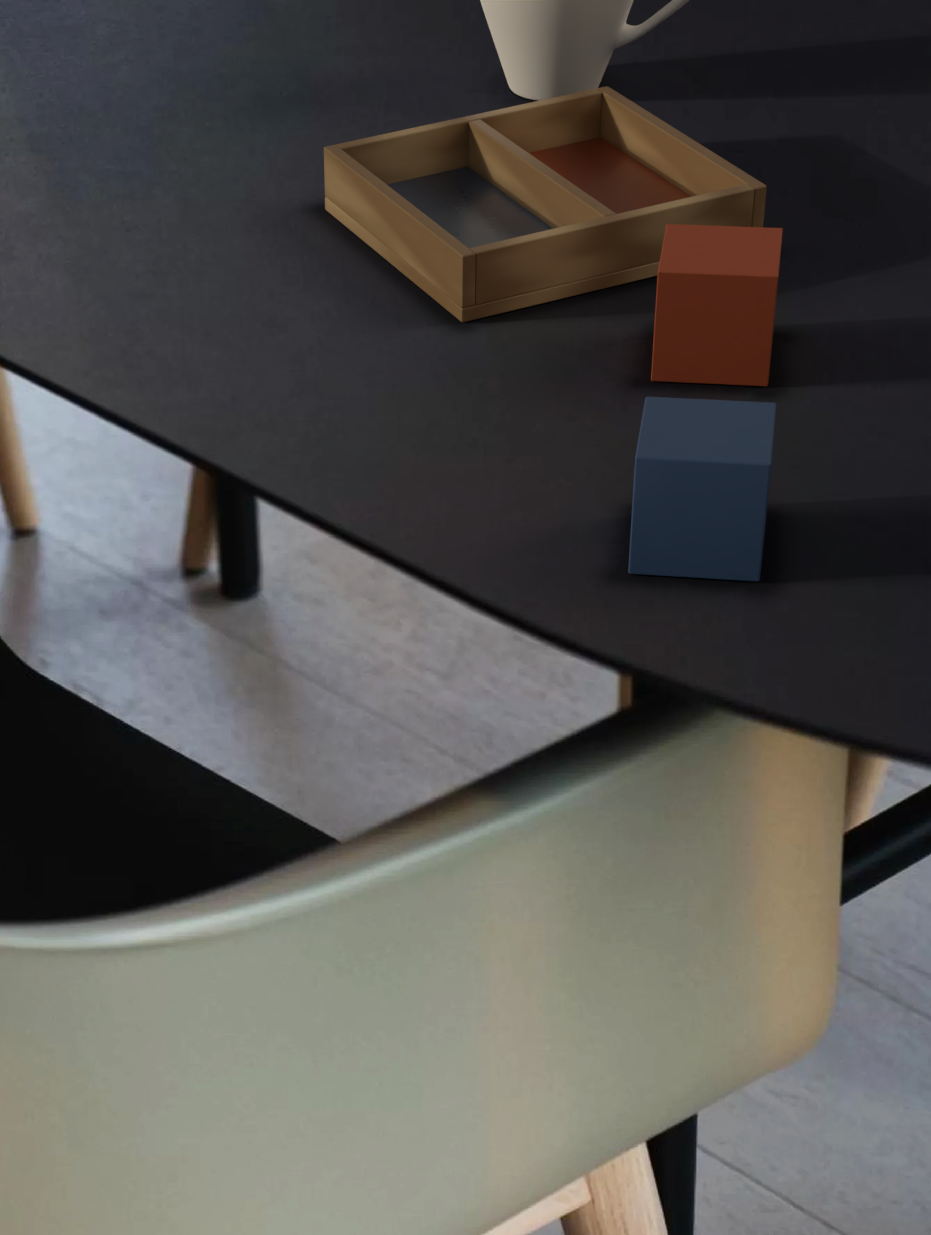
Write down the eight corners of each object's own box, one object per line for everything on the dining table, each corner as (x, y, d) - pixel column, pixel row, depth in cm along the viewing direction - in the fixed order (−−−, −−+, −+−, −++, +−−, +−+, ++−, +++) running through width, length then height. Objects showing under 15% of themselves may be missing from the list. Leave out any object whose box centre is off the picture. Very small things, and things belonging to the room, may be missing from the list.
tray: (604, 147, 113) (607, 85, 111) (761, 251, 104) (767, 185, 102) (324, 209, 109) (322, 146, 108) (461, 323, 100) (462, 256, 98)
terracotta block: (650, 381, 96) (657, 271, 93) (659, 331, 99) (666, 223, 96) (767, 387, 95) (778, 276, 92) (772, 335, 98) (782, 227, 95)
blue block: (627, 574, 85) (634, 457, 82) (638, 510, 88) (645, 395, 85) (759, 582, 84) (771, 464, 81) (765, 518, 87) (776, 402, 84)
